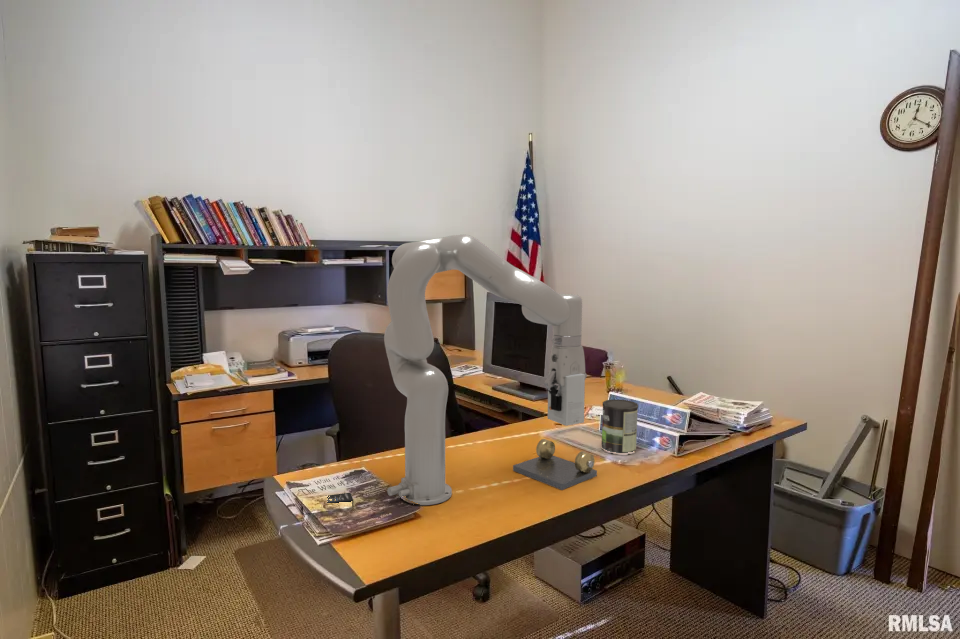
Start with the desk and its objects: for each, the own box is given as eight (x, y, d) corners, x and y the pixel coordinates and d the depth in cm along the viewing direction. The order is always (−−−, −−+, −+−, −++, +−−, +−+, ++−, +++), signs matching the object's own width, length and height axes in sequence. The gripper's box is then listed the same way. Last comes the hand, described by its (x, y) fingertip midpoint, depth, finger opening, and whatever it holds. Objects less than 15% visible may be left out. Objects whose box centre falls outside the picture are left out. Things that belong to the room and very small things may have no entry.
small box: (584, 423, 150) (585, 374, 148) (565, 426, 146) (566, 376, 145) (565, 415, 157) (566, 369, 155) (546, 418, 154) (547, 371, 152)
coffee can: (604, 455, 165) (605, 407, 163) (598, 443, 175) (599, 399, 173) (640, 456, 164) (642, 408, 163) (632, 444, 174) (633, 399, 173)
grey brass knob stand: (563, 490, 139) (563, 465, 138) (511, 470, 152) (511, 446, 152) (598, 476, 148) (599, 452, 148) (546, 458, 162) (547, 436, 161)
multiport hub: (302, 508, 130) (301, 498, 129) (351, 501, 133) (350, 491, 133) (303, 516, 125) (302, 506, 125) (353, 509, 129) (353, 499, 129)
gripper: (555, 346, 141) (554, 416, 143) (598, 339, 152) (597, 404, 154) (533, 343, 146) (532, 410, 148) (576, 337, 158) (575, 399, 160)
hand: (565, 407), depth 151 cm, fingers closed on small box, 7 cm apart
